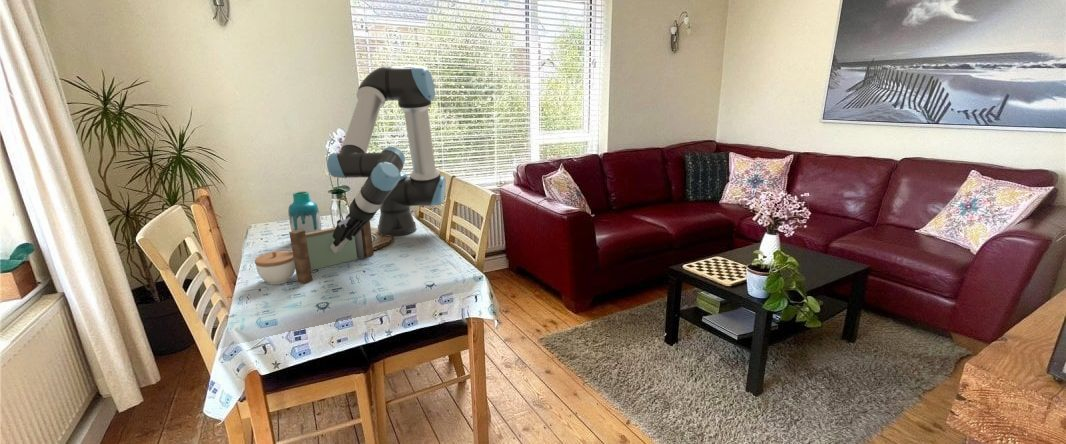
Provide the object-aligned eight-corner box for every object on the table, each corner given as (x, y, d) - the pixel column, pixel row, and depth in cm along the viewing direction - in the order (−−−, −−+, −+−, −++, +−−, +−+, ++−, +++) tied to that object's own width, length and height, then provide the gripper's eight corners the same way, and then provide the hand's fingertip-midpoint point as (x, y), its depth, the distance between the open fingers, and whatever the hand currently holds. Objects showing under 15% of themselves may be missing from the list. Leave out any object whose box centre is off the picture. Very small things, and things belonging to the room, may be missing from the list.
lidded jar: (282, 289, 135) (276, 259, 133) (250, 286, 138) (244, 257, 135) (306, 274, 146) (301, 246, 143) (276, 272, 148) (271, 245, 145)
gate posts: (367, 253, 164) (362, 209, 159) (373, 254, 163) (368, 210, 158) (297, 282, 140) (289, 232, 136) (304, 283, 139) (296, 233, 134)
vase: (299, 247, 171) (291, 197, 166) (288, 241, 178) (280, 193, 173) (328, 240, 178) (320, 192, 173) (316, 235, 185) (309, 188, 180)
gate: (362, 255, 161) (358, 222, 158) (365, 257, 159) (361, 224, 156) (297, 271, 148) (291, 235, 144) (299, 273, 146) (293, 237, 143)
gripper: (375, 190, 145) (344, 234, 157) (340, 199, 133) (310, 246, 145) (389, 208, 144) (357, 251, 156) (356, 219, 133) (324, 265, 144)
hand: (334, 249), depth 151 cm, fingers closed
